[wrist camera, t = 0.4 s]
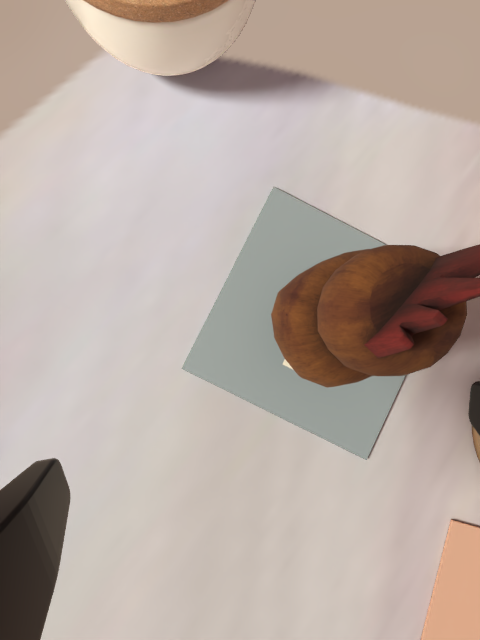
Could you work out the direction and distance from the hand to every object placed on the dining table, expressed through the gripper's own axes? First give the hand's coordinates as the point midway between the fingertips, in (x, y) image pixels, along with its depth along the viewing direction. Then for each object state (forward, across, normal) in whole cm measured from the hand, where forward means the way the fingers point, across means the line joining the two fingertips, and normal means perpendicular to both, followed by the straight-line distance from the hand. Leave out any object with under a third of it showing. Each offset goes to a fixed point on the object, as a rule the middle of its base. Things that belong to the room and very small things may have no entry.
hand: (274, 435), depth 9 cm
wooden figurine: (+15, -5, +4) cm, 16 cm away
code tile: (+15, -5, +4) cm, 16 cm away
